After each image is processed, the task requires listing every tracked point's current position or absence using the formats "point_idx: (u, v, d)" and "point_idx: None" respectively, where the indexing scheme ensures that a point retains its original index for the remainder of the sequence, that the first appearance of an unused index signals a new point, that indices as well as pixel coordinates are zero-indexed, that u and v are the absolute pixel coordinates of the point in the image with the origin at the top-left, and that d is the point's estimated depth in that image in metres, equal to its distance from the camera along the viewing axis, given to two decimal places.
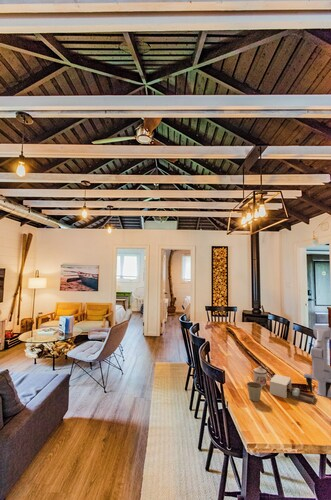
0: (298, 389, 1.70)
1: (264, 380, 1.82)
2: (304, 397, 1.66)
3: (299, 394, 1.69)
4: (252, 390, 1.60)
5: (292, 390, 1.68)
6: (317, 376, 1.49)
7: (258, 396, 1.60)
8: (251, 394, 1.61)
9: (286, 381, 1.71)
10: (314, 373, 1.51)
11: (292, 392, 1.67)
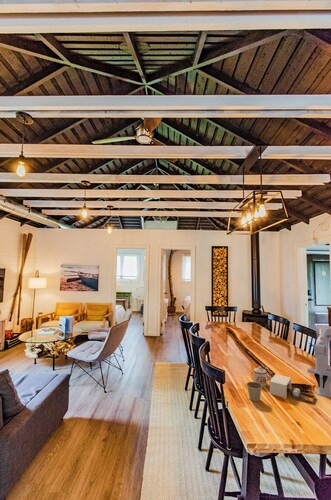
0: (298, 389, 1.69)
1: (264, 380, 1.82)
2: (304, 397, 1.66)
3: (299, 394, 1.69)
4: (252, 390, 1.60)
5: (292, 390, 1.68)
6: (320, 371, 1.59)
7: (258, 396, 1.60)
8: (251, 394, 1.61)
9: (286, 381, 1.71)
10: (317, 368, 1.61)
11: (292, 391, 1.67)
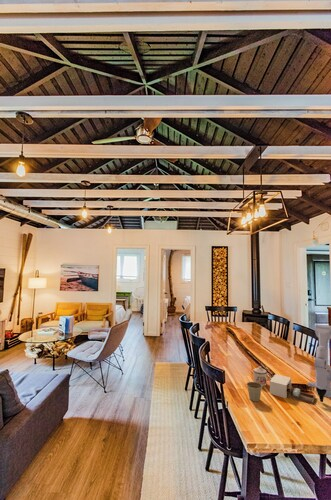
0: (299, 389, 1.69)
1: (264, 380, 1.82)
2: (304, 397, 1.66)
3: None
4: (252, 390, 1.60)
5: (293, 390, 1.68)
6: (320, 385, 1.59)
7: (258, 396, 1.60)
8: (251, 394, 1.61)
9: (286, 381, 1.71)
10: (317, 382, 1.60)
11: (293, 392, 1.67)
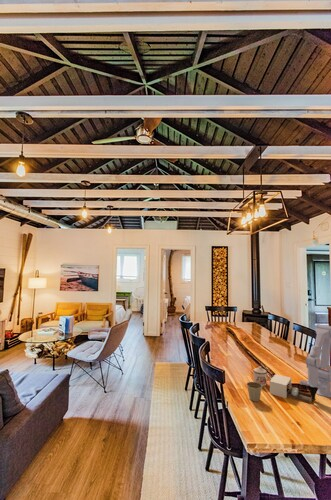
0: (297, 389, 1.70)
1: (264, 380, 1.82)
2: (302, 396, 1.67)
3: None
4: (252, 390, 1.60)
5: (291, 390, 1.68)
6: (312, 383, 1.61)
7: (258, 396, 1.60)
8: (251, 394, 1.61)
9: (286, 381, 1.71)
10: (309, 380, 1.63)
11: (291, 392, 1.67)
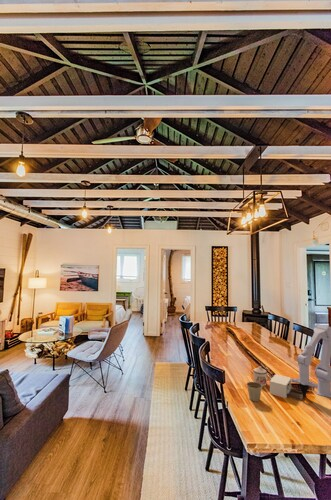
0: (289, 386, 1.73)
1: (264, 380, 1.82)
2: (293, 394, 1.70)
3: None
4: (252, 390, 1.60)
5: None
6: (303, 380, 1.64)
7: (258, 396, 1.60)
8: (251, 394, 1.61)
9: (286, 381, 1.71)
10: (300, 378, 1.66)
11: None
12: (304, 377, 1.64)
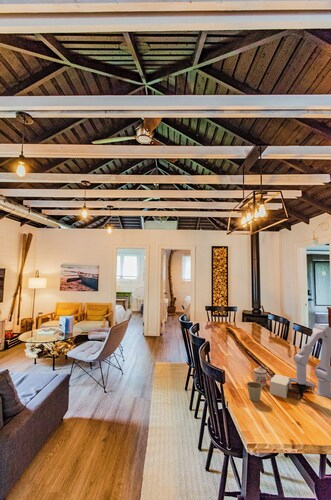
0: (287, 386, 1.74)
1: (264, 380, 1.82)
2: None
3: (287, 391, 1.73)
4: (252, 390, 1.60)
5: None
6: (300, 380, 1.65)
7: (258, 396, 1.60)
8: (251, 394, 1.61)
9: (286, 381, 1.71)
10: (297, 377, 1.67)
11: None
12: (301, 376, 1.65)
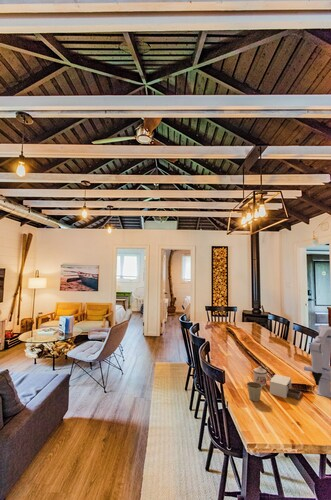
0: (287, 386, 1.74)
1: (264, 380, 1.82)
2: (291, 393, 1.71)
3: None
4: (252, 390, 1.60)
5: None
6: (316, 368, 1.61)
7: (258, 396, 1.60)
8: (251, 394, 1.61)
9: (286, 381, 1.71)
10: (313, 366, 1.63)
11: None
12: (317, 365, 1.61)
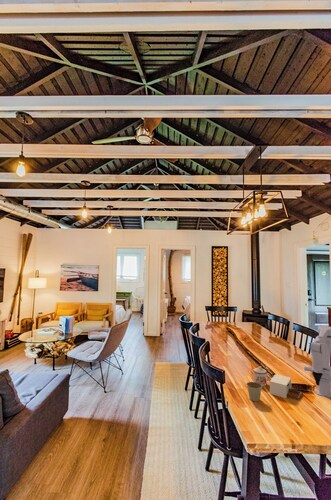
0: (287, 386, 1.74)
1: (264, 380, 1.82)
2: None
3: (288, 391, 1.73)
4: (252, 390, 1.60)
5: None
6: (316, 368, 1.61)
7: (258, 396, 1.60)
8: (251, 394, 1.61)
9: (286, 381, 1.71)
10: (313, 366, 1.63)
11: None
12: (317, 365, 1.61)
